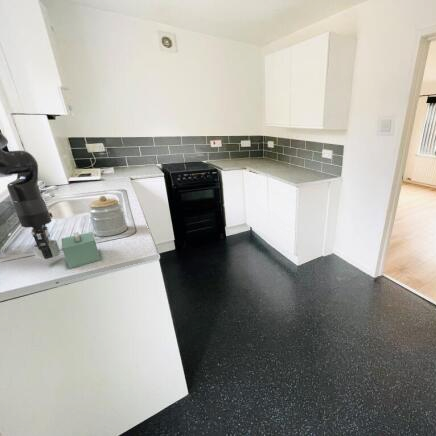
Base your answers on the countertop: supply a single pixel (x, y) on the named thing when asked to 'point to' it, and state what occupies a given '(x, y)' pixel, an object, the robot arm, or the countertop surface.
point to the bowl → (53, 248)
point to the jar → (107, 217)
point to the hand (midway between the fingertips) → (48, 254)
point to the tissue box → (80, 249)
